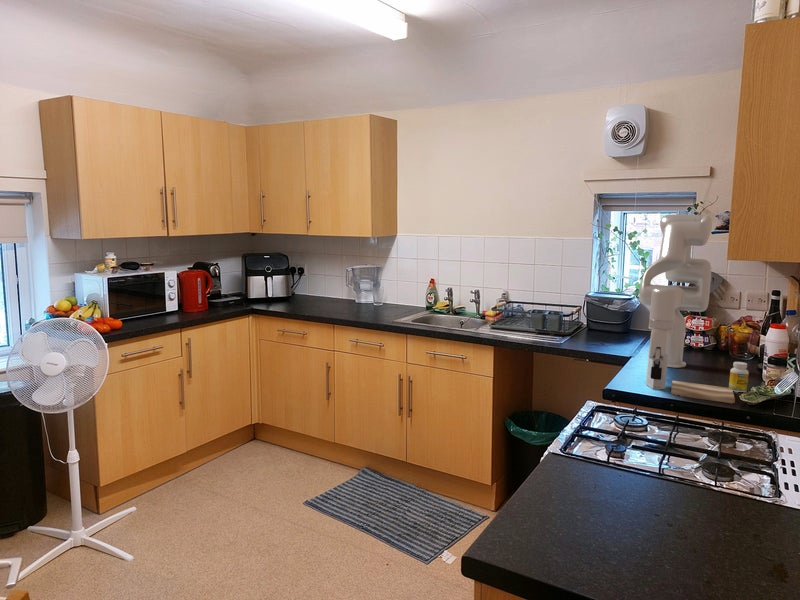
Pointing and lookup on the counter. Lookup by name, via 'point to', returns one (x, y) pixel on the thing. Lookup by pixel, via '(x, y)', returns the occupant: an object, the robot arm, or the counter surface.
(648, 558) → the counter surface
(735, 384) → the supplement bottle
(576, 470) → the counter surface
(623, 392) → the counter surface
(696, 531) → the counter surface
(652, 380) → the skincare box
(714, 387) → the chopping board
